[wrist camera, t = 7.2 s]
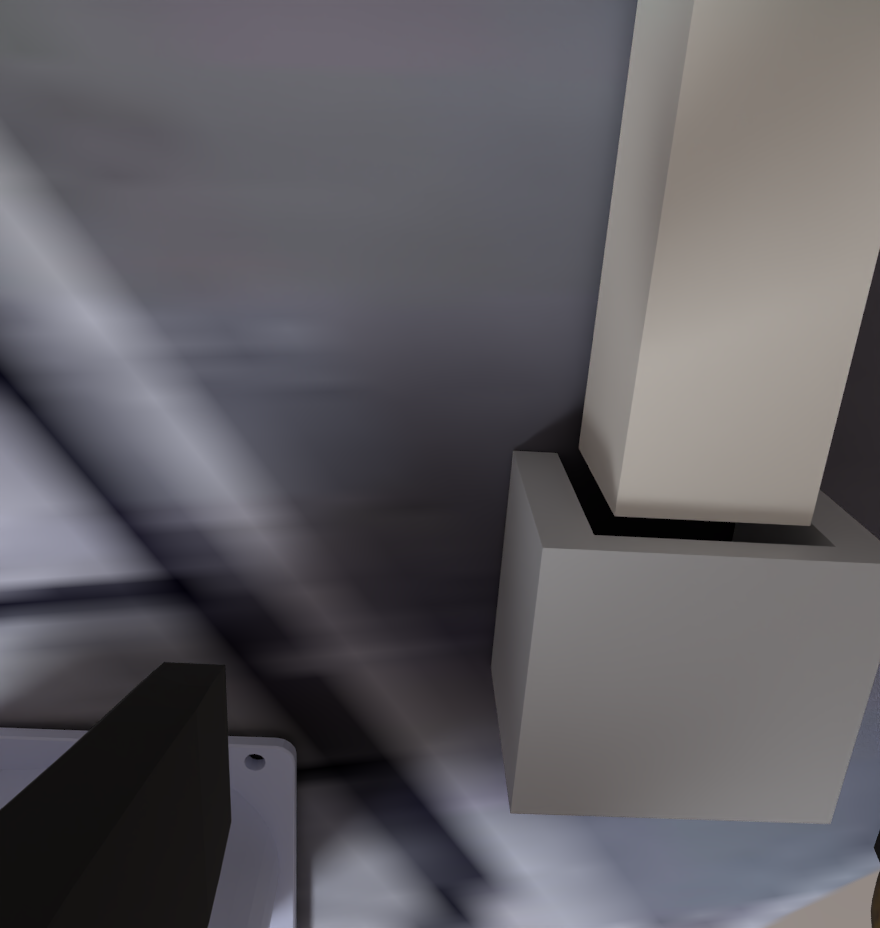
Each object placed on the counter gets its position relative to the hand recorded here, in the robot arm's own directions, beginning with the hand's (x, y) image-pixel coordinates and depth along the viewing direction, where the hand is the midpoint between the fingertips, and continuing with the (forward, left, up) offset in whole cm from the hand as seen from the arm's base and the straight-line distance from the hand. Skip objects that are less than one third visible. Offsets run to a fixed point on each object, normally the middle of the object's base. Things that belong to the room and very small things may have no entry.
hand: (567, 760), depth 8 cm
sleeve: (+4, -3, -10) cm, 11 cm away
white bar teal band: (+4, +6, -10) cm, 12 cm away
